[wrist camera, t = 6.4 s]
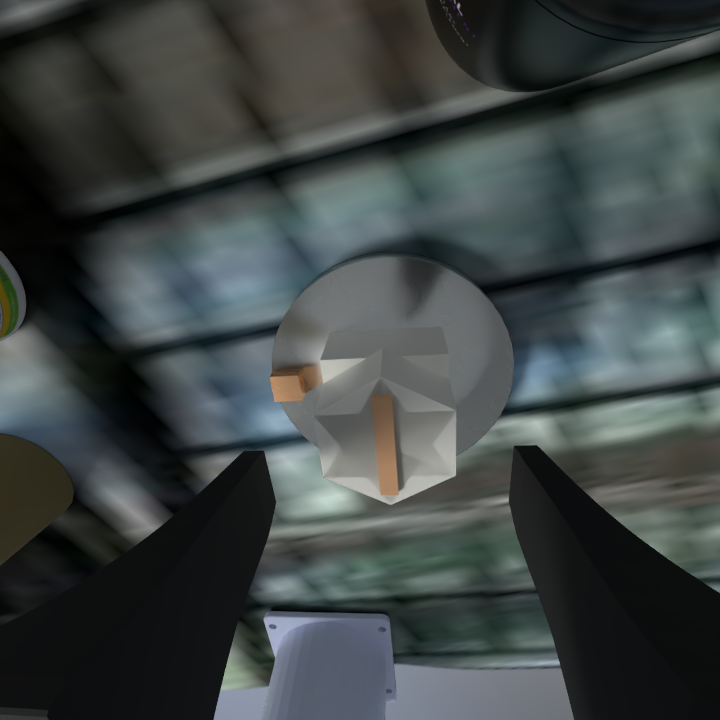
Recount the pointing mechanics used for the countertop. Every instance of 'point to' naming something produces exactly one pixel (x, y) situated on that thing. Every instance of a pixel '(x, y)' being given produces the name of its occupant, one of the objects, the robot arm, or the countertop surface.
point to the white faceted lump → (386, 411)
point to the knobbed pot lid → (394, 311)
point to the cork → (28, 492)
